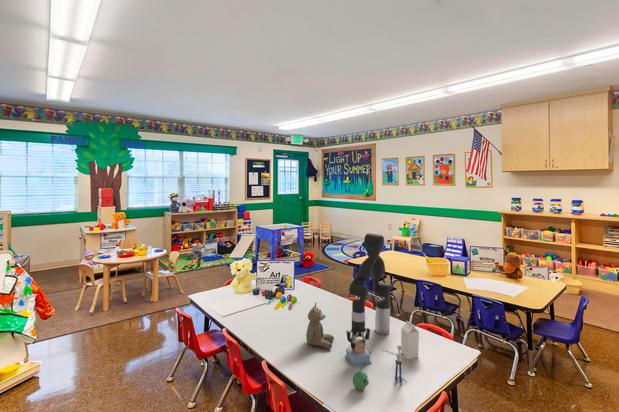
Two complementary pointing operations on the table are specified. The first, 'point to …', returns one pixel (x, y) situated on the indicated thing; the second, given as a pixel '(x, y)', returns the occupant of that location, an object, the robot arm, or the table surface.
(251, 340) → the table surface
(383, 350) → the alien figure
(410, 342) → the milk carton
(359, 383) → the alien toy
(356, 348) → the walnut block
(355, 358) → the pedestal
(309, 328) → the bear
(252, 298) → the table surface
